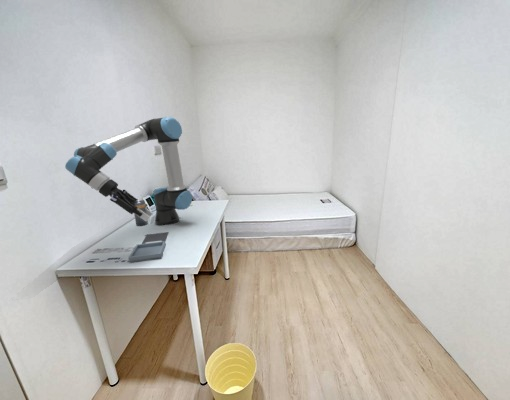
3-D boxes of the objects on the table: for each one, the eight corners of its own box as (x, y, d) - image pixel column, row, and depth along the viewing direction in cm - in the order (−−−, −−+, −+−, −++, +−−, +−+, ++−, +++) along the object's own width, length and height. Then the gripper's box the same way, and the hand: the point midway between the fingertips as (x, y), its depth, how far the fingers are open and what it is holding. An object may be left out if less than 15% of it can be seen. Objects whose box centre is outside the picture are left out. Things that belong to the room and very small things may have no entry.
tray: (137, 249, 117) (136, 244, 116) (165, 245, 120) (165, 241, 119) (129, 262, 104) (128, 257, 104) (161, 258, 107) (160, 253, 106)
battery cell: (137, 223, 111) (133, 199, 108) (149, 222, 112) (145, 198, 109) (134, 226, 106) (130, 202, 103) (146, 225, 107) (142, 201, 104)
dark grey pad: (147, 235, 134) (146, 234, 133) (169, 232, 136) (168, 231, 136) (140, 246, 120) (140, 244, 120) (165, 243, 123) (165, 241, 122)
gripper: (107, 187, 111) (149, 217, 118) (88, 196, 93) (139, 230, 100) (117, 175, 110) (158, 206, 117) (100, 182, 93) (150, 217, 100)
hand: (149, 217), depth 109 cm, fingers closed on battery cell, 5 cm apart
